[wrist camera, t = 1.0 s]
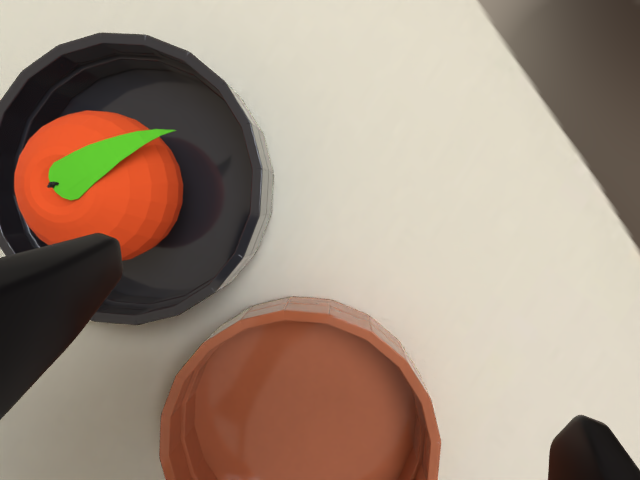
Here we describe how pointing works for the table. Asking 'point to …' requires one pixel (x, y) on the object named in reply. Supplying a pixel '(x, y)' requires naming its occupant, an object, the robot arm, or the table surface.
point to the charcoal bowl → (186, 145)
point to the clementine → (99, 181)
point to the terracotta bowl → (299, 401)
